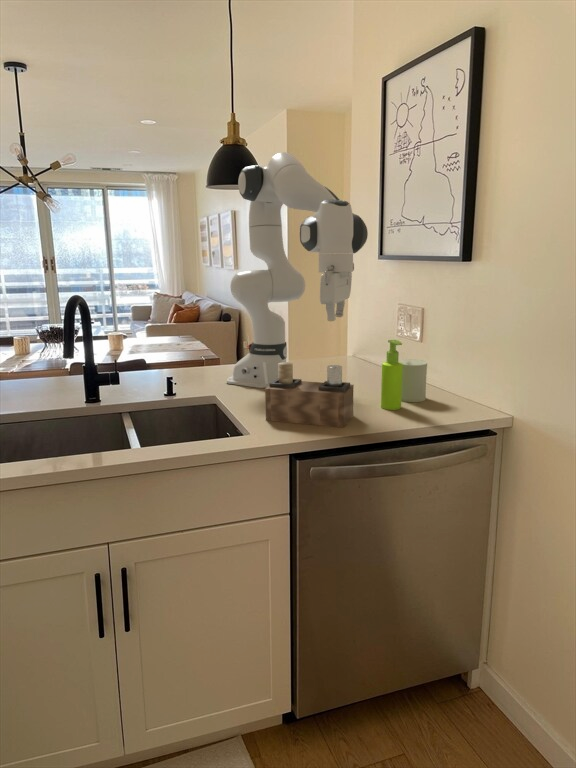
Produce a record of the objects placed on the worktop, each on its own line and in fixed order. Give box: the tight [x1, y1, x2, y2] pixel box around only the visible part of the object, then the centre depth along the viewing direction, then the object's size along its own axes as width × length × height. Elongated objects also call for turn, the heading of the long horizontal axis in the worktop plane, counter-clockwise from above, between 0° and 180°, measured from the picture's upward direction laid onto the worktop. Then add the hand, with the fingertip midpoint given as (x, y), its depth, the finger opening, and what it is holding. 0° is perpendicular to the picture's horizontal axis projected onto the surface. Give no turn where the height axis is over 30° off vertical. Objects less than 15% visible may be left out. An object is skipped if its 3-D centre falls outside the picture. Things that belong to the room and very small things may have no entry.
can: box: [398, 358, 428, 403], centre depth 174 cm, size 9×9×12 cm
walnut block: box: [264, 378, 354, 428], centre depth 155 cm, size 22×11×10 cm, turn 71°
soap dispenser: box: [380, 339, 403, 411], centre depth 163 cm, size 6×7×20 cm
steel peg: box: [326, 364, 343, 387], centre depth 151 cm, size 4×4×8 cm
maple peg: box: [278, 361, 294, 384], centre depth 156 cm, size 4×4×8 cm
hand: (335, 319), depth 147 cm, fingers open, 8 cm apart
